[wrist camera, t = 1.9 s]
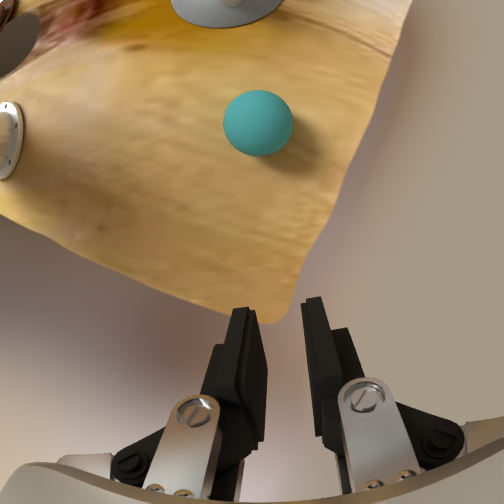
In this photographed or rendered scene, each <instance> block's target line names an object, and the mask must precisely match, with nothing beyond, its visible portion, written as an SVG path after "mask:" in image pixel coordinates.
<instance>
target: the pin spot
mask: <svg viewBox="0 0 504 504" xmlns="http://www.w3.org/2000/svg"><path fill="white" fill-rule="evenodd" d="M171 2H172V6H173V8H174V10H175V11H176V13H177V14H178V15H179V16H180V17H181V18H182V19H184V20H186V21H187V22H189V23H192V24H194V25H198V26H202V27H209V28H228V27H235V26H240V25H244V24H248V23H251V22H253V21H256V20H258V19H260V18H262V17H264V16H266V15H267V14H269V13H270V12H272V11H273V10H274V9H275V8H276V7H277V6H278V5H279V4H280V3H281V2H282V0H242V1H241V3H240V4H239V5H237V6H235V7H224V6H222V5H221V4H220V1H219V0H171Z"/></svg>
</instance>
